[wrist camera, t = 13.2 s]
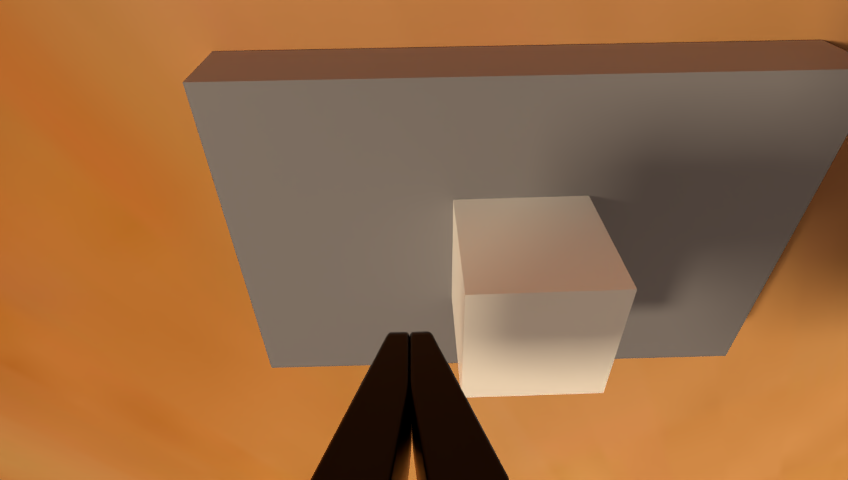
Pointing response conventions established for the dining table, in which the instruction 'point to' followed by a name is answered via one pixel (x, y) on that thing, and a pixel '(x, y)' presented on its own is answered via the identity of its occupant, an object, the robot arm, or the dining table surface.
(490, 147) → the socket plate
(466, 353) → the cream block
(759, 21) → the dining table surface
